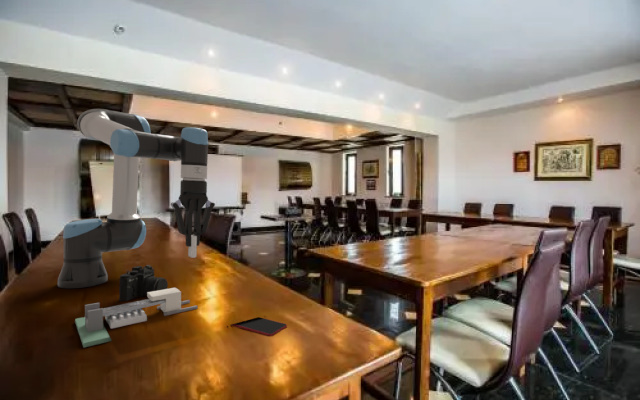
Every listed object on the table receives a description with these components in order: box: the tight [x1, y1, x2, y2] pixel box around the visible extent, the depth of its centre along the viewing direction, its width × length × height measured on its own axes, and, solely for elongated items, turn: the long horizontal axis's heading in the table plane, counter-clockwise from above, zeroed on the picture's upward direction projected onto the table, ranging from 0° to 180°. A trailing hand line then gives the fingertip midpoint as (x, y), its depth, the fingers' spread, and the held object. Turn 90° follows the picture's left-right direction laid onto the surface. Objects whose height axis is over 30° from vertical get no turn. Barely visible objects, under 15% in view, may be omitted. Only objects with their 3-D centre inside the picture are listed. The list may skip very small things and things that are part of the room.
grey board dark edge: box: [102, 298, 165, 318], centre depth 88 cm, size 17×4×1 cm, turn 131°
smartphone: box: [230, 316, 288, 337], centre depth 88 cm, size 7×1×15 cm
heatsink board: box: [74, 299, 198, 348], centre depth 90 cm, size 18×28×6 cm, turn 131°
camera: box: [118, 264, 168, 302], centre depth 108 cm, size 14×11×10 cm
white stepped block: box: [146, 287, 182, 313], centre depth 93 cm, size 5×8×6 cm, turn 131°
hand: (192, 256), depth 103 cm, fingers closed
